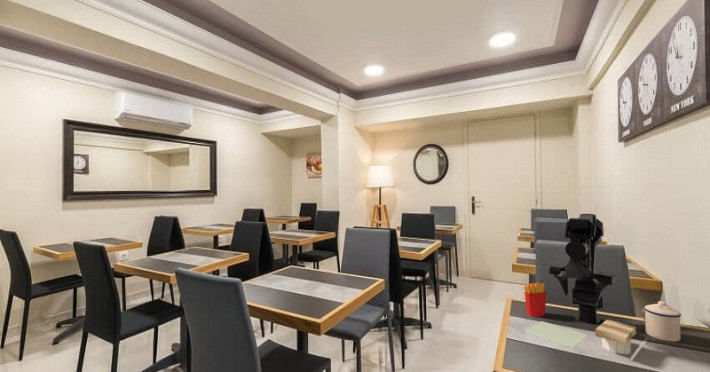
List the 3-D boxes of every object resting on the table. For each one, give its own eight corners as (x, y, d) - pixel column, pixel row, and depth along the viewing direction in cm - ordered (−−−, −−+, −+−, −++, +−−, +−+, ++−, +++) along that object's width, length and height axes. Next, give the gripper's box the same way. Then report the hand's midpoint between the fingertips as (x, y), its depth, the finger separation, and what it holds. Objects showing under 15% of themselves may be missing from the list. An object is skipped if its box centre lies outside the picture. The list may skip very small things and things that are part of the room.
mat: (541, 322, 121) (541, 321, 121) (588, 336, 109) (588, 335, 109) (524, 333, 112) (524, 331, 112) (573, 349, 101) (573, 348, 101)
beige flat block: (607, 325, 107) (607, 319, 107) (636, 333, 101) (636, 326, 101) (595, 335, 99) (595, 329, 99) (626, 344, 94) (625, 337, 94)
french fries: (540, 312, 131) (539, 280, 131) (549, 316, 127) (548, 283, 127) (521, 315, 128) (521, 282, 129) (530, 319, 124) (529, 285, 124)
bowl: (606, 343, 105) (605, 327, 105) (633, 351, 100) (632, 335, 100) (599, 349, 101) (599, 333, 101) (627, 358, 95) (627, 341, 95)
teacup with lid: (689, 342, 105) (689, 306, 105) (661, 342, 105) (661, 307, 105) (655, 326, 117) (655, 294, 117) (630, 326, 117) (629, 294, 117)
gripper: (542, 252, 115) (542, 296, 115) (606, 262, 100) (607, 311, 100) (554, 249, 122) (555, 290, 122) (616, 257, 107) (617, 303, 107)
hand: (581, 298), depth 113 cm, fingers open, 9 cm apart
